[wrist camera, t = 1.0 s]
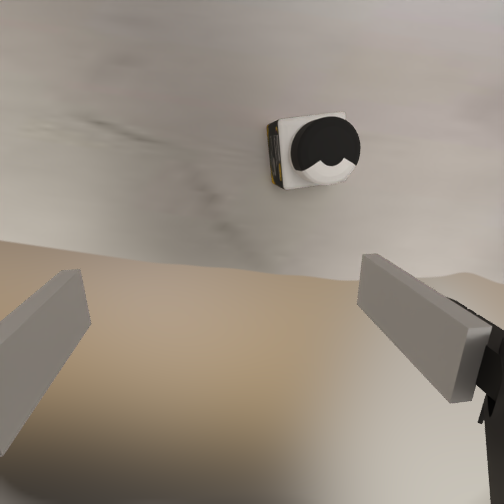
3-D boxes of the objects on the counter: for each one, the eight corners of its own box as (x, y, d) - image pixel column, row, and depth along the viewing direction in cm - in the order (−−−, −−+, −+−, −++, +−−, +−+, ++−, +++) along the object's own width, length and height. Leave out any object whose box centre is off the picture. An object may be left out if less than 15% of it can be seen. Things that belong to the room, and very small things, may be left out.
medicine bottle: (265, 124, 38) (290, 113, 26) (322, 117, 38) (370, 103, 27) (271, 184, 40) (296, 197, 29) (324, 176, 41) (369, 186, 29)
